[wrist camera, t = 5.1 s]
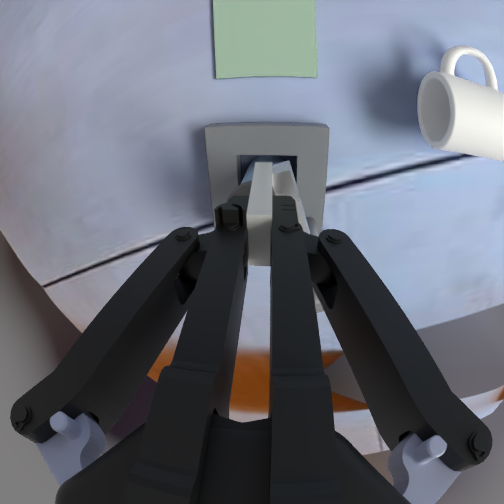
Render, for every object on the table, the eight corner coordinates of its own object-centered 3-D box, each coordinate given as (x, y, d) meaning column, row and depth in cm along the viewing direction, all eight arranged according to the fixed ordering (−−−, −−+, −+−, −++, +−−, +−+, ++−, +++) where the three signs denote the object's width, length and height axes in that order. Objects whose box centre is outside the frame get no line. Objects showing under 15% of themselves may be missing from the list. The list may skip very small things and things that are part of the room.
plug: (241, 150, 28) (219, 184, 20) (295, 150, 28) (299, 185, 19) (243, 198, 32) (225, 249, 23) (294, 199, 31) (295, 252, 22)
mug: (478, 149, 23) (517, 172, 17) (415, 138, 25) (450, 159, 18) (480, 58, 16) (522, 62, 10) (412, 37, 18) (449, 29, 11)
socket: (210, 123, 27) (166, 151, 17) (325, 124, 26) (350, 151, 16) (219, 221, 34) (191, 287, 24) (319, 224, 32) (329, 294, 23)
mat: (213, -4, 18) (212, -5, 18) (313, -7, 17) (313, -8, 17) (217, 78, 24) (216, 78, 24) (316, 77, 23) (317, 77, 22)
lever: (334, 291, 22) (336, 308, 20) (301, 297, 23) (301, 315, 21) (301, 157, 16) (303, 166, 15) (258, 168, 17) (255, 179, 15)
